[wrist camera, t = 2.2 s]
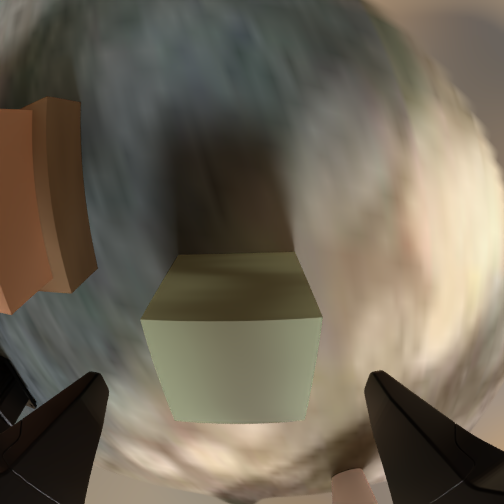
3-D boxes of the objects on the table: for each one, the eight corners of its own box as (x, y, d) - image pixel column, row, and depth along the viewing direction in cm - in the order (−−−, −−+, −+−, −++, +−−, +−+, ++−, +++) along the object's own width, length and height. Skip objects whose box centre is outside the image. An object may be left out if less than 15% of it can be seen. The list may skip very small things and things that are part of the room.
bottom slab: (10, 264, 12) (-19, 285, 9) (-8, 141, 9) (-42, 146, 6) (101, 264, 12) (71, 293, 9) (85, 103, 9) (47, 96, 7)
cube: (192, 343, 13) (174, 420, 9) (178, 254, 12) (140, 319, 7) (289, 342, 14) (304, 420, 9) (294, 251, 12) (322, 317, 7)
